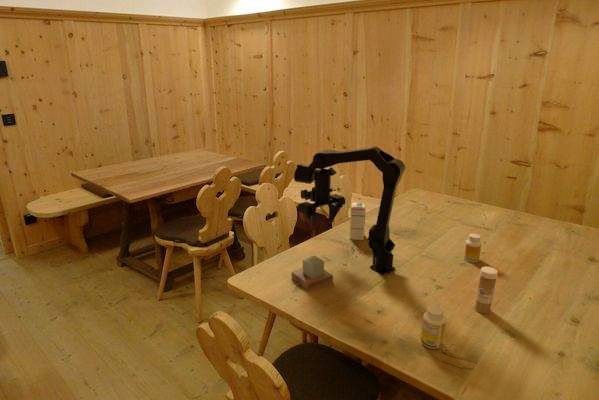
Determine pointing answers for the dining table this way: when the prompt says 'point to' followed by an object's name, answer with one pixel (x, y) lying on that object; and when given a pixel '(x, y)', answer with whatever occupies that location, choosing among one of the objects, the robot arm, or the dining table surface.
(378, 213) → the robot arm
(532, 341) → the dining table surface
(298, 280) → the walnut block
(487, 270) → the sprinkles bottle
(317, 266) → the gray cube
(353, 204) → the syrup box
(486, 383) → the dining table surface
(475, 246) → the supplement bottle
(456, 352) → the dining table surface
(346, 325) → the dining table surface
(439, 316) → the supplement bottle
